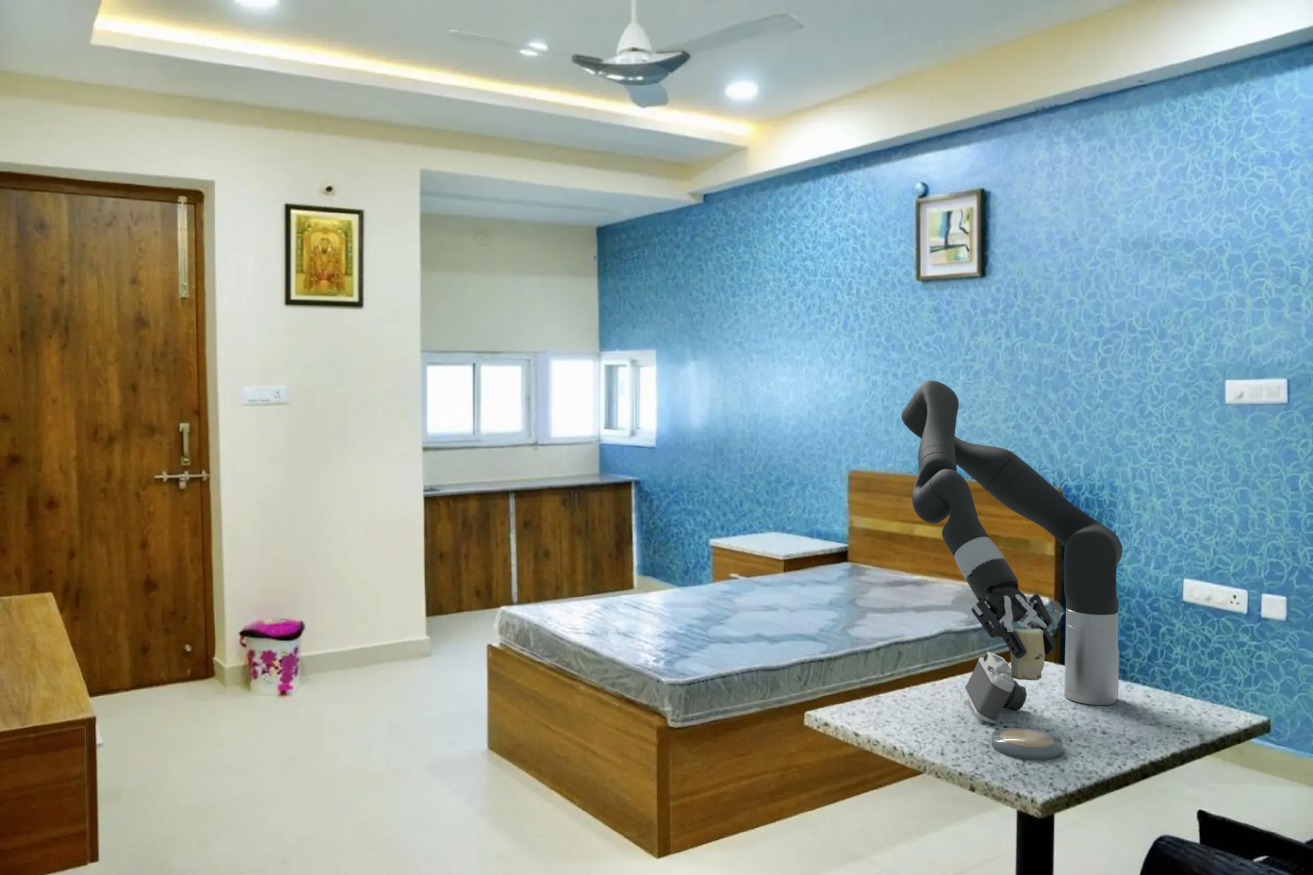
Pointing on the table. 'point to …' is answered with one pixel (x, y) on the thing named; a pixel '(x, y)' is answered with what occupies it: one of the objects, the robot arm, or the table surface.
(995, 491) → the robot arm
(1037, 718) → the table surface
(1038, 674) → the off-white rounded piece
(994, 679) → the camera
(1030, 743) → the coaster
